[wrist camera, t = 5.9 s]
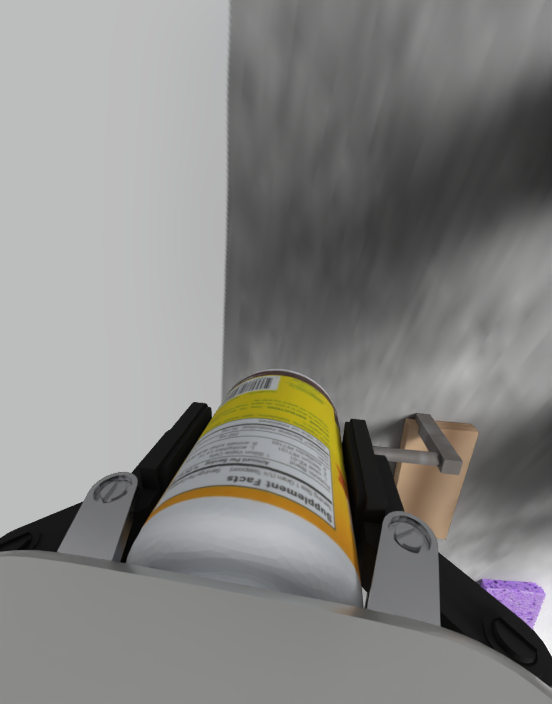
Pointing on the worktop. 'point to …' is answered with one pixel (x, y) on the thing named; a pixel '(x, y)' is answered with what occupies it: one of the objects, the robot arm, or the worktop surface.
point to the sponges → (517, 597)
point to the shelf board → (431, 468)
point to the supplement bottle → (262, 496)
